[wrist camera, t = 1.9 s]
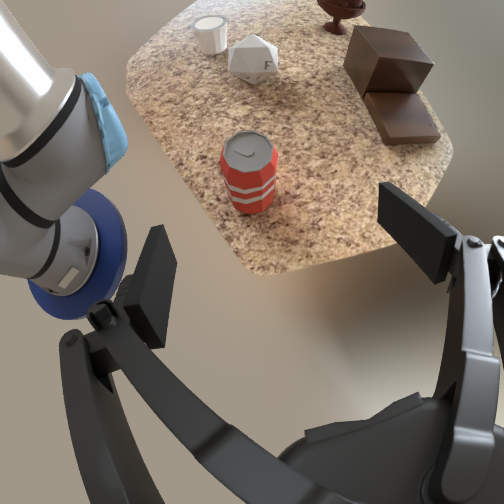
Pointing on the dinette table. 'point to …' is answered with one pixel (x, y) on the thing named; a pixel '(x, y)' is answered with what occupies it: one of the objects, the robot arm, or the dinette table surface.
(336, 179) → the dinette table surface
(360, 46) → the wooden l-shaped step
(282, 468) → the robot arm
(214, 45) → the shot glass
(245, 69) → the die
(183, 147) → the dinette table surface
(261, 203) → the beverage can
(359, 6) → the ice cream bowl
